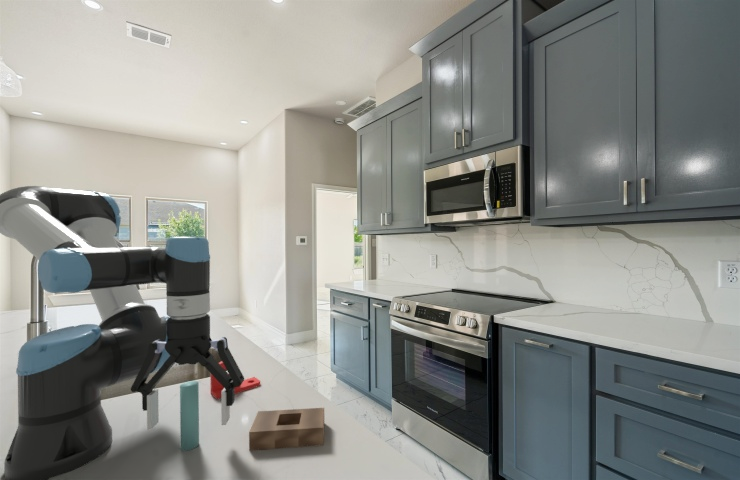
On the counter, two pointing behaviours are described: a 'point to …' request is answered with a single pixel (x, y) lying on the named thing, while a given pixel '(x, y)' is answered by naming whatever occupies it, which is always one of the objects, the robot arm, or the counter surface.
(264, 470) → the counter surface
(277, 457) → the counter surface
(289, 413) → the hole block
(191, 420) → the peg
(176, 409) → the counter surface
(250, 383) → the bracket
